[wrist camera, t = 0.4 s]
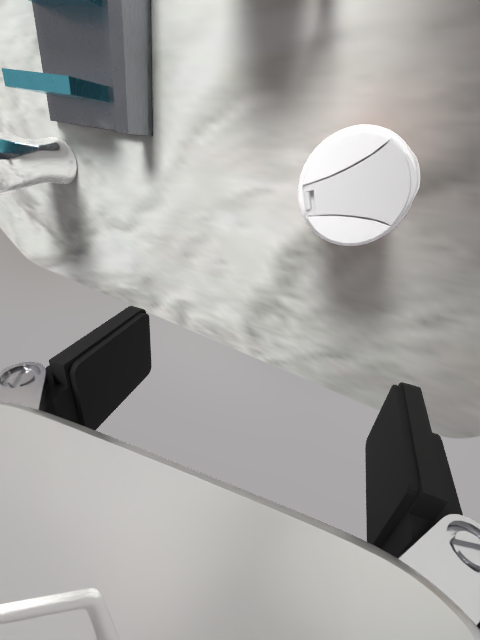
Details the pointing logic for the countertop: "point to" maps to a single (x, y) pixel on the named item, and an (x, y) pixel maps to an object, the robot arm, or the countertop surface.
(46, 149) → the beer glass
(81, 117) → the holder
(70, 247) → the countertop surface
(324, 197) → the coffee cup
